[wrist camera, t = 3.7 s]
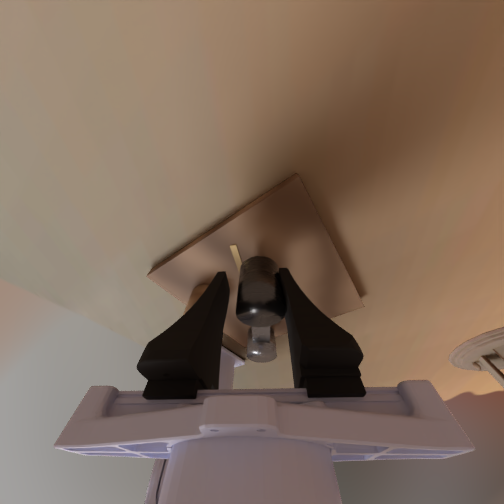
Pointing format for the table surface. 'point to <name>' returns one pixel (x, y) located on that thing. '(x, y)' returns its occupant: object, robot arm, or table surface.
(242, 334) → the board
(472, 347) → the miniature windmill
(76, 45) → the table surface
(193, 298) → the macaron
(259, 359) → the lever
